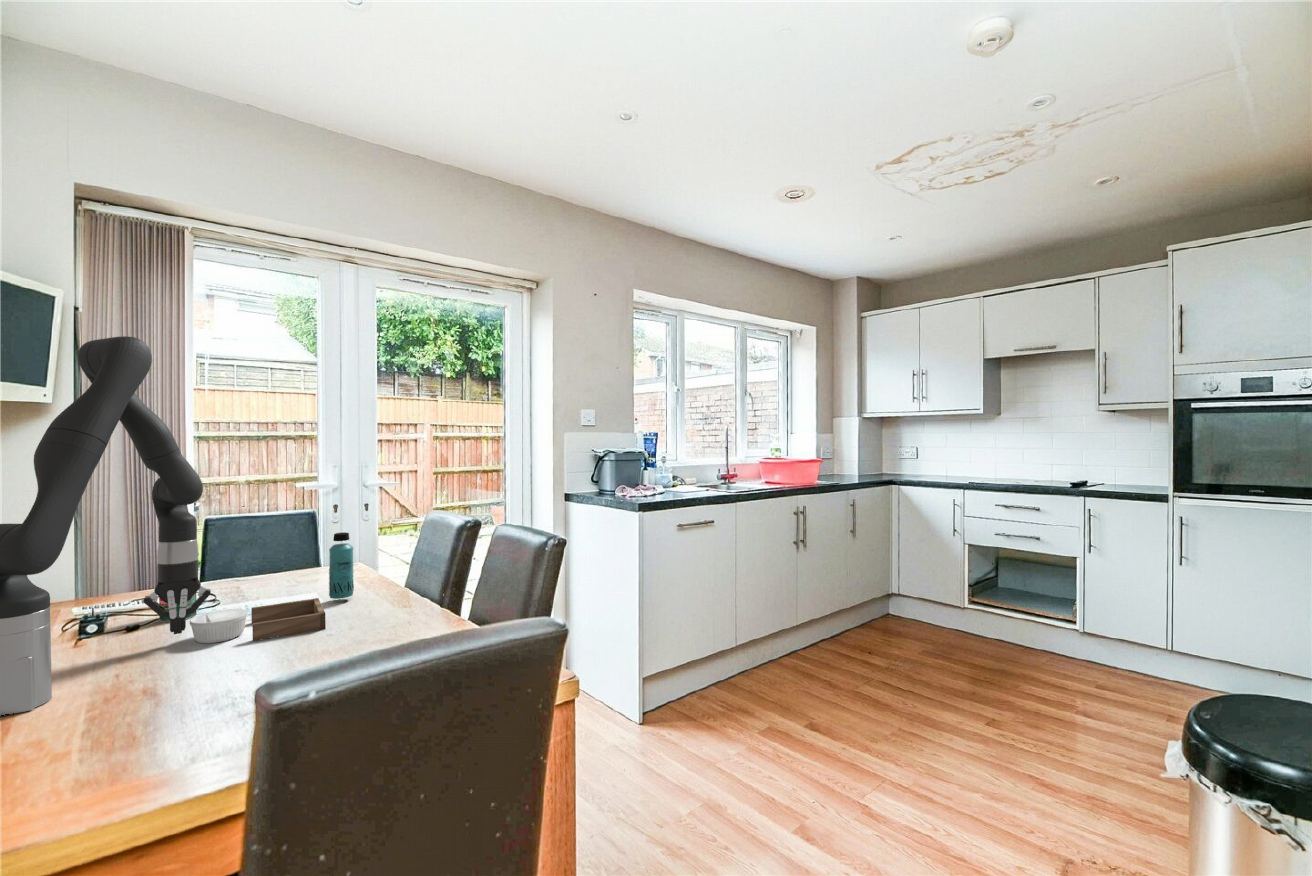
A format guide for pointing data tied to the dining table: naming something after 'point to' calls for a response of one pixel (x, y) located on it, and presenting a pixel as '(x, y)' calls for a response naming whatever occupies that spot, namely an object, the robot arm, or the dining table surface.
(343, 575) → the beverage bottle
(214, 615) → the ramekin
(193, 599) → the canned tomato
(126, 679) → the dining table surface
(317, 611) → the walnut bay
